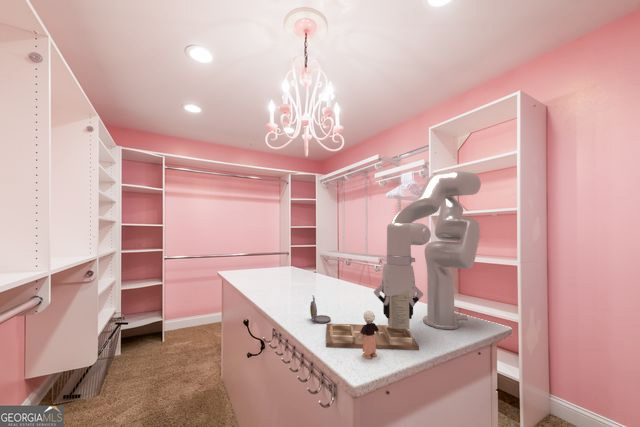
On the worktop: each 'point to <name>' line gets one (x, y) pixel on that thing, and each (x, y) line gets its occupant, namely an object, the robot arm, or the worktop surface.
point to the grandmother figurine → (369, 335)
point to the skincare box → (399, 311)
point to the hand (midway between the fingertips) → (398, 316)
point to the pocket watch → (314, 314)
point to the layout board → (387, 340)
